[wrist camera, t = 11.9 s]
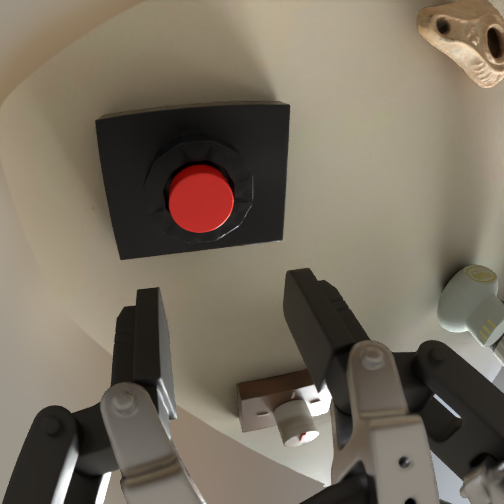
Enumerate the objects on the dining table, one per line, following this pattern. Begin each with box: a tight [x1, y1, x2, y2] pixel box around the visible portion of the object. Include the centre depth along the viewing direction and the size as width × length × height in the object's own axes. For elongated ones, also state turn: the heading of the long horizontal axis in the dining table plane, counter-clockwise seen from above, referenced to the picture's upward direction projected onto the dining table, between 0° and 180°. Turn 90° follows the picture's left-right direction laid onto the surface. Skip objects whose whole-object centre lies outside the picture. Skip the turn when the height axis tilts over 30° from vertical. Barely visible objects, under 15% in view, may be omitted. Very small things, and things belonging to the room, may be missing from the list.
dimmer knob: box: [273, 400, 318, 447], centre depth 36 cm, size 5×5×5 cm
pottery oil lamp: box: [417, 0, 504, 88], centre depth 16 cm, size 9×12×7 cm
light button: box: [169, 164, 234, 233], centre depth 18 cm, size 4×4×2 cm
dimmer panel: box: [237, 370, 332, 432], centre depth 39 cm, size 13×10×3 cm
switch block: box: [95, 101, 290, 260], centre depth 20 cm, size 12×10×4 cm
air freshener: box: [437, 265, 504, 347], centre depth 33 cm, size 11×8×10 cm
